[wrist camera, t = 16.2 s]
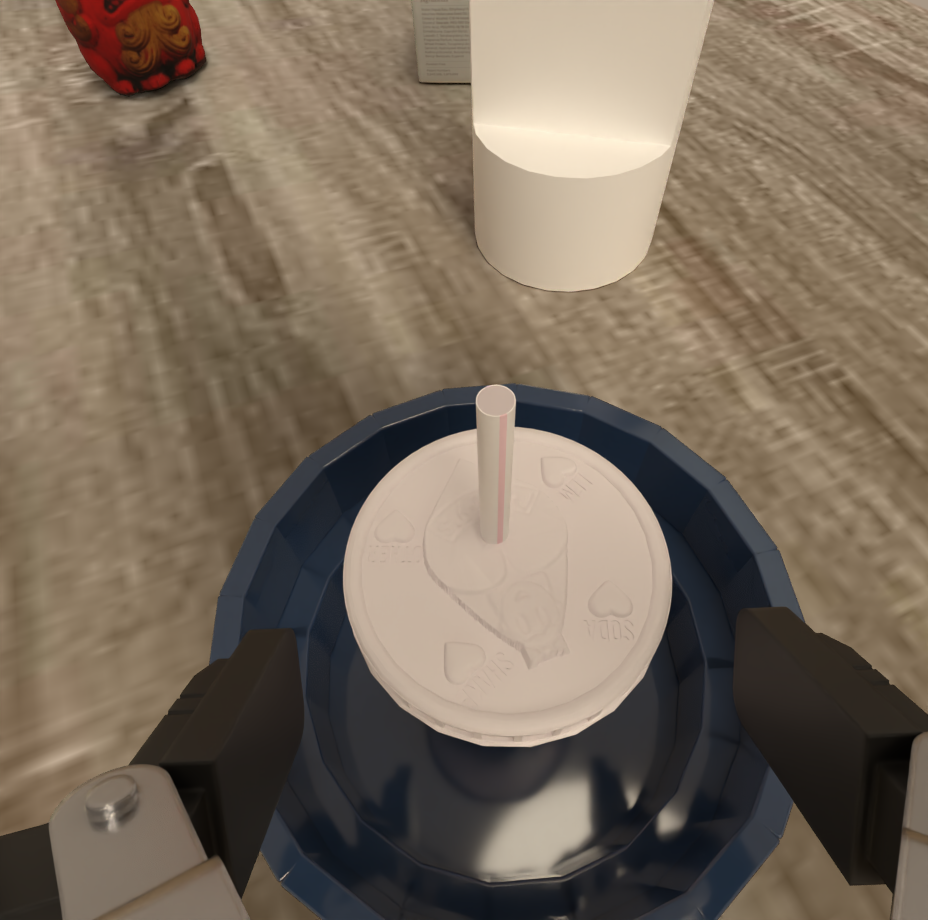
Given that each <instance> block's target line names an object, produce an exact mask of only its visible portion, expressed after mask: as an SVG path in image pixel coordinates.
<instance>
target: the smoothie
mask: <svg viewBox="0 0 928 920" xmlns="http://www.w3.org/2000/svg"><path fill="white" fill-rule="evenodd" d="M515 408H516V397H515V395H514V393H513V392H512V391H511V390H510V389H509V388H507V387H505V386H502V385H490V386H487V387H485V388H483V389H482V390H481V391H479V393H478V394H477V397H476V421H477V429H473V430H468V431H463V432H459V433H456V434H453V435H449V436H447V437H444V438H441V439H439V440H436V441H434V442H432V443H430V444H428V445H426V446H424V447H422V448H420V449H419V450H417V451H415V452H414V453H412V454H411V455H409V456H408V457H406V458H405V459H404V460H402V461H401V462H400V463H398V464H397V465H396V466H395V467H394V468H393V469H392V470H390V471H389V472H388V473H387V474H386V475H385V476H384V478H383V479H382V480H381V481H380V482H379V483H378V484H377V485H376V487H375V488H374V489H373V491H372V492H371V493H370V495H369V496H368V498H367V499H366V501H365V502H364V504H363V506H362V507H361V509H360V511H359V513H358V515H357V517H356V519H355V522H354V524H353V527H352V529H351V532H350V536H349V539H348V543H347V547H346V552H345V558H344V569H343V590H344V597H345V605H346V609H347V613H348V617H349V621H350V624H351V627H352V630H353V635H354V637H355V639H356V641H357V644H358V646H359V648H360V650H361V652H362V654H363V657H364V659H365V661H366V663H367V665H368V668H369V670H370V672H371V674H372V675H373V676H374V677H375V678H376V680H377V681H378V682H379V683H380V684H381V685H382V687H383V688H384V689H385V690H386V691H387V692H388V694H389V695H390V696H391V697H392V698H393V699H394V701H395V702H396V703H397V704H398V705H399V706H400V707H401V708H402V709H404V710H405V711H407V712H408V713H410V714H412V715H413V716H415V717H416V718H418V719H419V720H421V721H422V722H424V723H425V724H427V725H428V726H430V727H431V728H433V729H434V730H436V731H437V732H440V733H443V734H446V735H449V736H452V737H456V738H459V739H462V740H465V741H468V742H472V743H475V744H478V745H481V746H503V747H533V746H536V745H540V744H544V743H547V742H551V741H555V740H558V739H562V738H566V737H569V736H573V735H576V734H578V733H579V732H581V731H583V730H584V729H586V728H587V727H589V726H591V725H592V724H594V723H595V722H597V721H599V720H600V719H602V718H603V717H605V716H607V715H608V714H610V713H611V712H613V711H615V709H616V708H617V707H618V706H619V705H620V704H621V703H622V701H623V700H624V699H625V698H626V697H627V696H628V695H629V693H630V692H631V691H632V690H633V689H634V688H635V687H636V685H637V684H638V683H639V682H640V681H641V680H642V679H643V677H644V675H645V673H646V671H647V668H648V666H649V664H650V662H651V660H652V657H653V655H654V654H655V652H656V650H657V647H658V645H659V643H660V641H661V639H662V636H663V633H664V630H665V627H666V624H667V620H668V616H669V611H670V606H671V596H672V572H671V563H670V558H669V553H668V548H667V544H666V541H665V538H664V535H663V532H662V530H661V527H660V525H659V523H658V520H657V518H656V517H655V515H654V513H653V511H652V509H651V507H650V506H649V504H648V503H647V501H646V500H645V498H644V497H643V495H642V494H641V493H640V491H639V490H638V489H637V488H636V487H635V485H634V484H633V483H632V482H631V481H630V480H629V479H628V478H627V477H626V476H625V475H624V474H623V473H622V472H621V471H620V470H619V469H618V468H616V467H615V466H614V465H613V464H612V463H610V462H609V461H608V460H606V459H605V458H603V457H602V456H601V455H599V454H598V453H596V452H594V451H592V450H591V449H589V448H587V447H585V446H583V445H581V444H579V443H577V442H575V441H573V440H570V439H568V438H565V437H562V436H560V435H556V434H553V433H549V432H546V431H541V430H536V429H530V428H522V427H515Z"/></svg>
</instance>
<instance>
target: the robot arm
mask: <svg viewBox="0 0 928 920" xmlns="http://www.w3.org/2000/svg"><path fill="white" fill-rule="evenodd" d="M733 698H734V704H735V708H736V711H737V715H738V717H739V719H740V722H741V724H742V725H743V727H744V728H745V730H746V731H747V733H748V734H749V736H750V737H751V739H752V740H753V742H754V743H755V745H756V746H757V748H758V749H759V751H760V752H761V754H762V755H763V757H764V758H765V760H766V761H767V763H768V764H769V766H770V767H771V769H772V770H773V772H774V773H775V774H776V776H777V777H778V779H779V780H780V782H781V783H782V785H783V786H784V788H785V789H786V791H787V792H788V794H789V795H790V797H791V798H792V800H793V801H794V803H795V804H796V806H797V807H798V809H799V810H800V812H801V813H802V815H803V816H804V818H805V819H806V821H807V822H808V824H809V825H810V827H811V828H812V830H813V831H814V833H815V834H816V836H817V837H818V839H819V840H820V842H821V843H822V845H823V846H824V848H825V849H826V851H827V852H828V853H829V855H830V856H831V858H832V859H833V861H834V862H835V864H836V865H837V867H838V868H839V870H840V871H841V873H842V874H843V876H844V877H845V879H846V880H847V882H848V883H849V885H850V886H852V885H877V884H886V885H887V887H888V888H889V889H890V891H891V892H892V893H893V898H892V906H891V914H890V920H928V714H926V713H925V712H924V711H923V710H922V709H921V708H920V707H918V706H917V705H916V704H915V703H914V702H913V701H912V700H910V699H909V698H908V697H907V696H906V695H905V694H904V693H902V692H901V691H900V690H899V689H898V688H897V687H896V686H894V685H890V684H889V680H888V679H886V678H885V677H884V676H883V675H882V674H881V673H879V672H878V671H877V670H876V669H872V666H871V665H870V664H869V663H868V662H867V661H866V660H865V659H863V658H862V657H861V656H860V655H859V654H858V653H857V652H855V651H854V650H853V649H852V648H851V647H849V646H847V645H845V644H843V643H841V642H839V641H837V640H835V639H833V638H831V637H829V636H827V635H825V634H823V633H815V632H814V631H813V630H812V629H811V628H810V627H809V626H807V625H806V624H805V623H804V622H803V621H802V620H801V619H800V618H799V617H798V616H797V615H796V614H794V613H793V612H792V611H791V610H790V609H789V608H787V607H763V608H743V609H741V610H740V611H739V613H738V615H737V619H736V632H735V651H734V670H733ZM303 728H304V700H303V691H302V683H301V675H300V666H299V658H298V650H297V642H296V637H295V633H294V631H293V629H292V628H278V629H256V630H249V631H248V632H247V633H246V634H245V636H244V637H243V639H242V640H241V642H240V643H239V645H238V646H237V648H236V649H235V651H234V652H233V654H232V655H231V657H230V658H226V659H217V660H216V661H214V662H213V663H212V664H210V665H209V666H207V667H206V668H205V669H203V670H202V671H200V672H199V673H197V674H196V675H195V676H194V677H193V678H192V680H191V681H190V682H189V684H188V685H187V686H186V688H185V689H184V690H183V692H182V693H181V695H180V699H177V700H176V701H175V703H174V704H173V705H172V707H171V708H170V709H169V711H168V715H165V716H164V718H163V719H162V720H161V722H160V723H159V724H158V726H157V727H156V728H155V730H154V731H153V732H152V734H151V735H150V737H149V738H148V739H147V741H146V742H145V743H144V745H143V746H142V747H141V749H140V750H139V751H138V753H137V754H136V756H135V757H134V758H133V760H132V761H131V762H130V764H129V765H128V766H124V767H120V768H116V769H113V770H110V771H107V772H105V773H102V774H100V775H98V776H96V777H94V778H92V779H90V780H88V781H87V782H85V783H83V784H82V785H80V786H79V787H77V788H76V789H75V790H73V791H72V792H71V793H70V794H68V795H67V796H66V797H65V798H64V799H63V800H62V801H61V802H60V804H59V805H58V806H57V807H56V809H55V810H54V812H53V814H52V816H51V818H50V822H49V823H47V824H43V825H40V826H36V827H33V828H29V829H25V830H21V831H18V832H14V833H10V834H6V835H3V836H0V920H250V918H249V916H248V914H247V912H246V909H245V907H244V905H243V903H242V901H241V899H242V896H243V893H244V891H245V888H246V885H247V883H248V880H249V877H250V875H251V872H252V869H253V867H254V864H255V862H256V859H257V856H258V854H259V851H260V848H261V846H262V843H263V840H264V838H265V835H266V832H267V830H268V827H269V825H270V822H271V819H272V817H273V814H274V811H275V809H276V806H277V803H278V801H279V798H280V795H281V793H282V790H283V787H284V785H285V782H286V780H287V777H288V774H289V772H290V769H291V766H292V764H293V761H294V758H295V756H296V753H297V750H298V748H299V745H300V742H301V739H302V734H303Z"/></svg>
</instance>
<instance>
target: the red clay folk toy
mask: <svg viewBox="0 0 928 920" xmlns="http://www.w3.org/2000/svg"><path fill="white" fill-rule="evenodd" d="M56 3H57V6H58V8H59V10H60V12H61V14H62V16H63V19H64V21H65V23H66V25H67V27H68V29H69V31H70V32H71V34H72V35H73V37H74V38H75V39H76V41H77V44H78V46H79V49H80V51H81V53H82V55H83V57H84V58H85V60H86V62H87V63H88V65H89V66H90V68H91V69H92V70H93V71H94V72H95V73H96V74H97V75H98V76H100V77H101V78H102V79H103V80H104V82H106V83H107V84H108V85H109V86H110V87H111V88H112V89H113V90H115V91H116V92H117V93H119V94H120V95H121V94H122V95H128V96H130V95H133V94H135V93H137V92H145V91H151V90H157V89H160V88H162V87H164V86H165V85H167V84H168V83H169V81H170V80H173V81H174V80H175V79H178V78H179V79H185V78H187V77H189V76H191V75H192V74H194V73H195V72H196V71H197V70H199V69H200V68H201V67H202V66H203V65H204V63H205V62H206V57H205V51H204V48H203V46H202V39H201V29H200V25H199V20H198V17H197V15H196V13H195V10H194V9H193V7H192V6H191V5H190V3H189V0H56Z"/></svg>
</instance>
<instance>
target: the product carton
mask: <svg viewBox="0 0 928 920" xmlns="http://www.w3.org/2000/svg"><path fill="white" fill-rule="evenodd" d="M411 4H412V15H413V25H414V36H415V46H416V56H417V66H418V77H419V81H420V82H428V83H471V65H470V26H469V0H411Z"/></svg>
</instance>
